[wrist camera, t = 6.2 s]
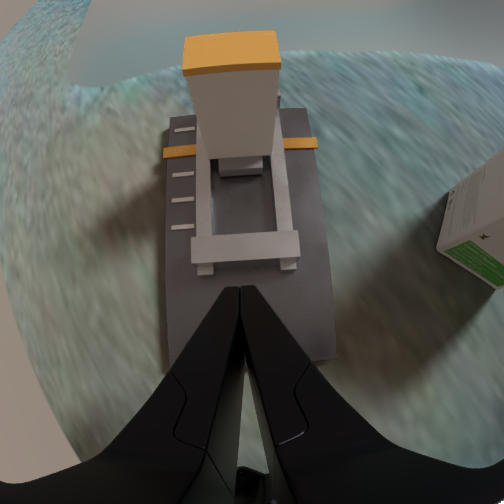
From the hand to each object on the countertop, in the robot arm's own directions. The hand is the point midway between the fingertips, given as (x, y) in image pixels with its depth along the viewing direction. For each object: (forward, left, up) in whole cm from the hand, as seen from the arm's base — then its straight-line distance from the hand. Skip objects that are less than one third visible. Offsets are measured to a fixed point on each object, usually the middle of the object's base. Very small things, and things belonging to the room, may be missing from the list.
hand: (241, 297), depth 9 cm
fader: (+10, +6, -11) cm, 16 cm away
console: (+5, +3, -13) cm, 14 cm away
